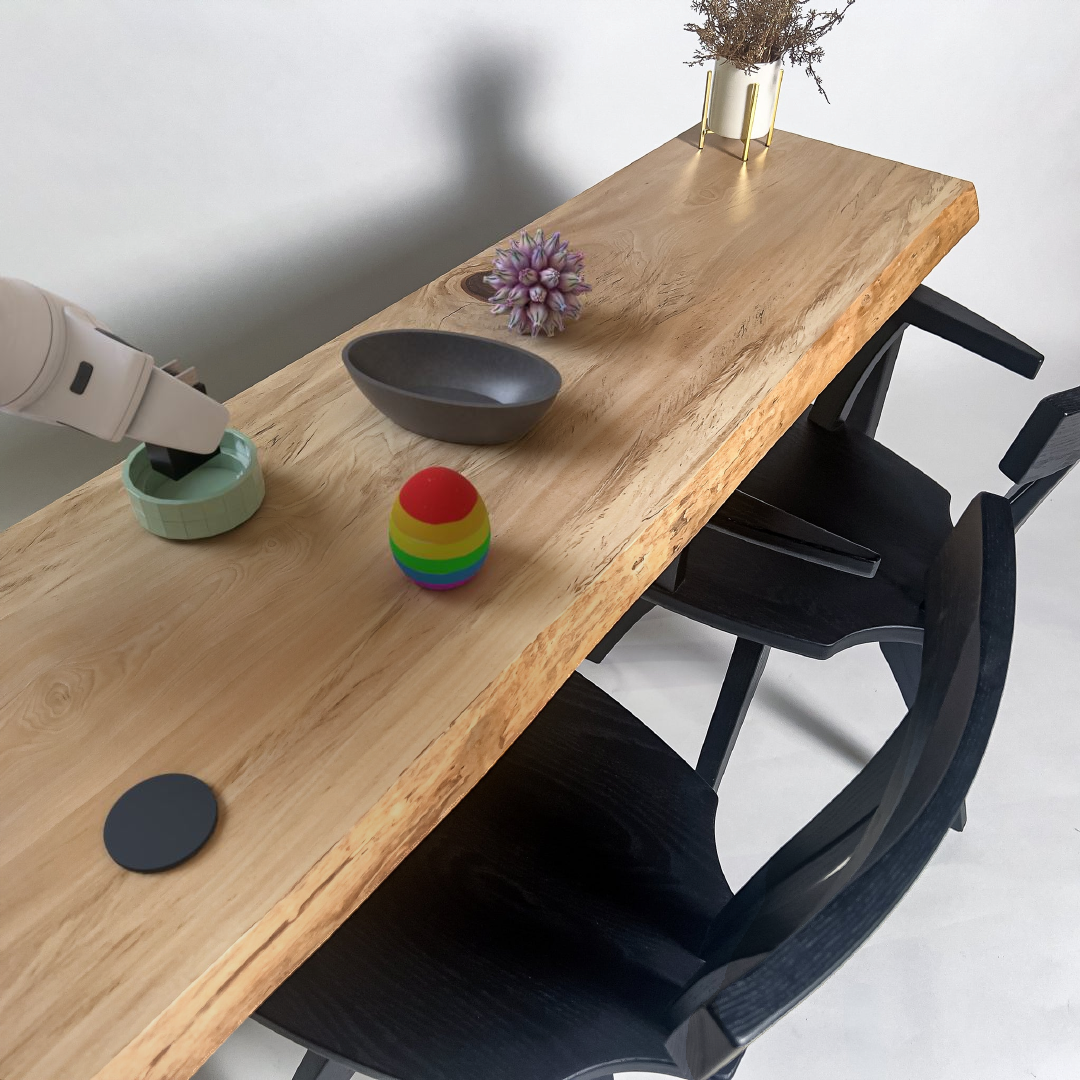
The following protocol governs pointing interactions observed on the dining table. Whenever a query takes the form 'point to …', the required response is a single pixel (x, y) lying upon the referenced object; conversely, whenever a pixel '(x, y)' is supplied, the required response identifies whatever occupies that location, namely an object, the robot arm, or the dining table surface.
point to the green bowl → (197, 491)
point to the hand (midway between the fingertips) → (180, 409)
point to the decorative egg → (439, 529)
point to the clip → (175, 460)
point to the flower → (537, 283)
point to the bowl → (452, 383)
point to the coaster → (160, 823)
